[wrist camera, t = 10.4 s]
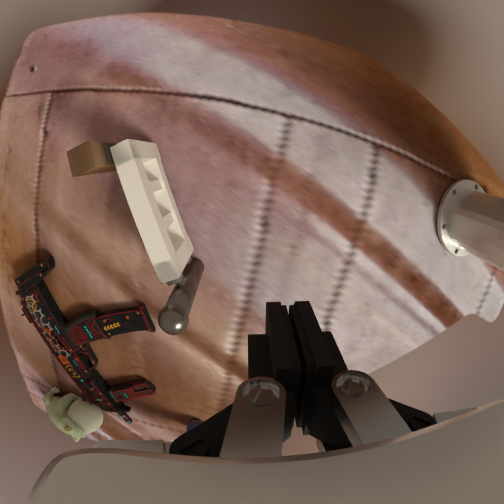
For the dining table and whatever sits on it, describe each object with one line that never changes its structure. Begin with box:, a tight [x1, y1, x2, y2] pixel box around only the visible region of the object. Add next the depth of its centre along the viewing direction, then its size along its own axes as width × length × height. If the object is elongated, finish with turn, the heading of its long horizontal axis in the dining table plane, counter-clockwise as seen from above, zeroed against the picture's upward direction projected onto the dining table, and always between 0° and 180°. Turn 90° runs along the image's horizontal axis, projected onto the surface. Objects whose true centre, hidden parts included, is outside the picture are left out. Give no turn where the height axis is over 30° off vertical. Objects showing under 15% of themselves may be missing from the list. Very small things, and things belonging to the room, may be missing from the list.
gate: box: [110, 139, 194, 286], centre depth 29 cm, size 2×15×9 cm, turn 17°
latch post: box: [67, 141, 117, 177], centre depth 26 cm, size 3×2×13 cm
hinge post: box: [158, 258, 204, 335], centre depth 30 cm, size 3×3×15 cm
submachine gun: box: [15, 256, 156, 424], centre depth 40 cm, size 34×4×25 cm
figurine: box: [43, 386, 103, 442], centre depth 41 cm, size 10×16×10 cm, turn 99°
